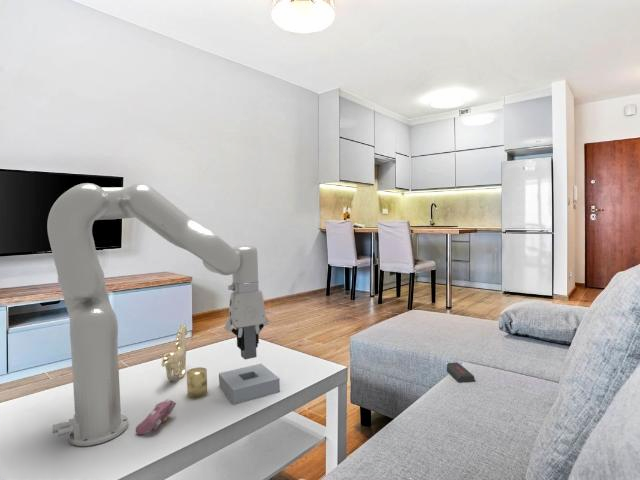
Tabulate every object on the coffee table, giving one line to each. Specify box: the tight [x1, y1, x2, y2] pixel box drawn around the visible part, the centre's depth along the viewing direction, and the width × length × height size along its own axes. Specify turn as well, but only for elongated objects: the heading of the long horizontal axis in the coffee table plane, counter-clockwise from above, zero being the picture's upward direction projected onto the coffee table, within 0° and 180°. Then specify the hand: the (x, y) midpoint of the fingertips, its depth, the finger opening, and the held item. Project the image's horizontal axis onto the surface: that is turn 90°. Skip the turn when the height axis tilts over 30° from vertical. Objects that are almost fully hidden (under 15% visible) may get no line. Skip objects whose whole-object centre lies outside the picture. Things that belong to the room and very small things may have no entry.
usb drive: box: [445, 361, 476, 384], centre depth 120 cm, size 5×12×3 cm, turn 4°
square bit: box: [240, 326, 258, 360], centre depth 112 cm, size 4×4×10 cm
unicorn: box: [161, 320, 189, 382], centre depth 121 cm, size 20×4×17 cm, turn 0°
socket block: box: [218, 363, 281, 405], centre depth 113 cm, size 14×14×4 cm
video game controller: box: [135, 398, 177, 436], centre depth 93 cm, size 10×5×7 cm, turn 170°
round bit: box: [186, 366, 209, 400], centre depth 110 cm, size 6×6×7 cm
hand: (248, 347), depth 113 cm, fingers closed on square bit, 3 cm apart
